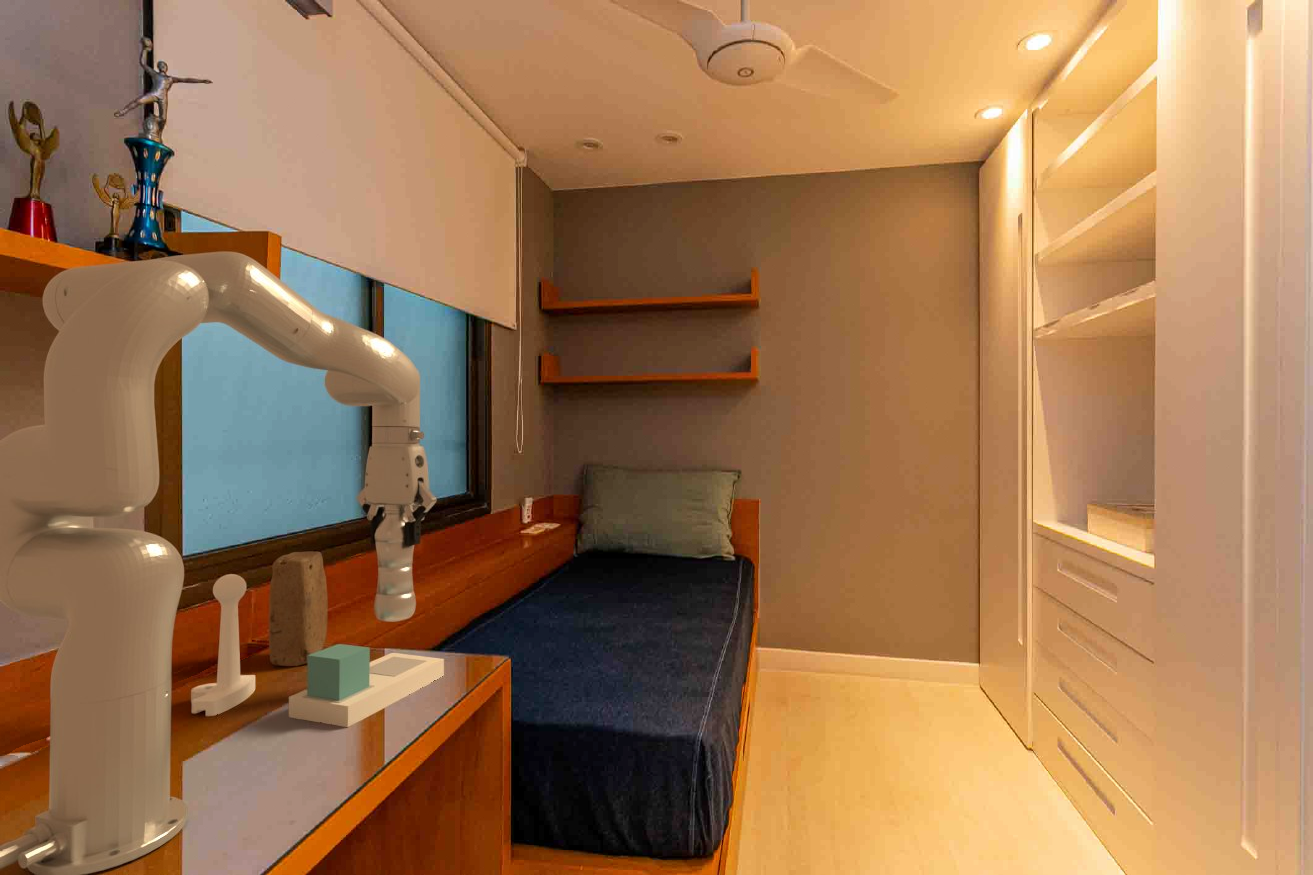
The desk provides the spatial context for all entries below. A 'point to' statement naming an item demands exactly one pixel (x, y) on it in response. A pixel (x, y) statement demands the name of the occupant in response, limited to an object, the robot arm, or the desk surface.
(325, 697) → the cube
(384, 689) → the board
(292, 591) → the block
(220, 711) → the joystick
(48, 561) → the robot arm
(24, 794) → the desk surface
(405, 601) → the plastic bottle
